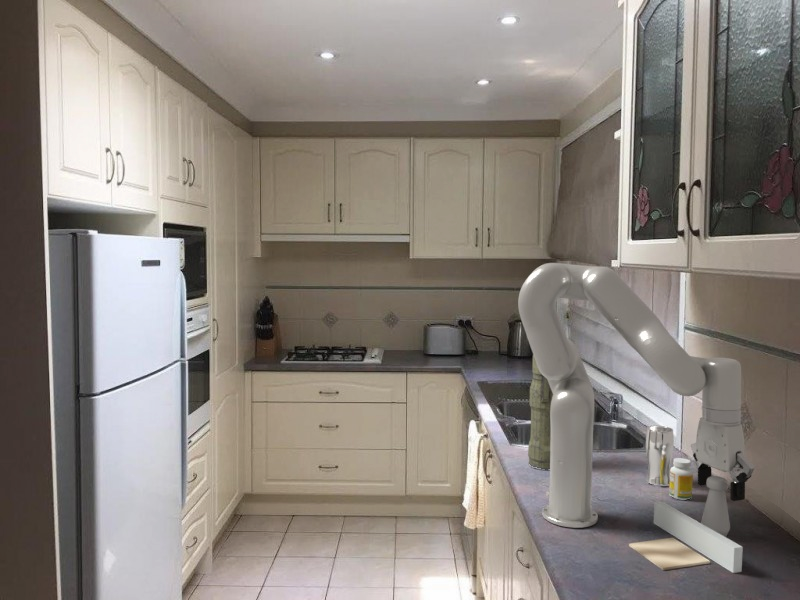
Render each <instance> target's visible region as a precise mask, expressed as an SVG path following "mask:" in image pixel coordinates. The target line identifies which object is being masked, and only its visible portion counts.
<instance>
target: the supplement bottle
mask: <svg viewBox="0 0 800 600" xmlns="http://www.w3.org/2000/svg"><path fill="white" fill-rule="evenodd" d="M691 463H692V461H691V460H690V459H687V458H683V457H682V458H681V457H675V458H673V462H672V464H673V466H670V469H669V477H670V484H669V486H668V489H669V490H668V495H669V497H670V496H672V497H674V498H677V499H690V498H691V499H692V498H693V481H694V472H693V469H691V465H692V464H691ZM672 497H671V498H672ZM677 499H676V500H677ZM691 499H690V500H691Z"/></svg>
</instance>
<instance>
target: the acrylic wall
mask: <svg viewBox="0 0 800 600" xmlns="http://www.w3.org/2000/svg"><path fill="white" fill-rule="evenodd" d="M653 524H654V525H656V526H658V527H659V528H660V529H662V530H664V531H665V532H667V533H669V534H670V535H672V536H673V537H674V538H675V539H678V540H680V542H682V543H683V544H684V543H685V545H688V547H690V548H691V549H693V550H696V552H699V554H700V553H701V555H704V556H705V557H707V558H708V559H709V560H712V561H713V562H715V563H716V564H718V565H720V566H721V567H723V568H725V570H727V571H729V572H731V573H733V574H736V573H741V572H742V571H743V570H742V568H743V550H744V549H743V548H744V547H743V546H742V545H740V544H738V543H736V542H735V541H734V540H731V539H730V538H728V537H727V536H726V537H724V536H722V535H721V534H719V533H717V532H715V531H714V530H712V529H710V528H708V527H706V526H705V525H703V524H701V522H699V521H697V520H696V519H694V518H692V517H691V516H689V515H687V514H685V513H683V512H682V511H680V510H679V509H676V508H674V507H673V506H671V505H670V504H667V503H665V502H664V501H663V500H662V501H654V504H653Z"/></svg>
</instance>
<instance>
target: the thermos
mask: <svg viewBox="0 0 800 600" xmlns="http://www.w3.org/2000/svg"><path fill="white" fill-rule="evenodd" d="M531 369H532V371H531V372H532V378H531V380H532V381H531V383H530V386H529V406H530V438H529V441H528V446H527V448H528V450H527V451H528V465H529V464H530V465H531V466H533V467H537V468H541V469H550V441H551V422H550V408H551V401H552V397H553V393H552V390H551V388H550V385H549V382H548V380H547V378H546V377H544V376H543V375H542V374H541V373H540V371H539V369H538V367H537V364H536V361H535V358H534V355H533V354H532V368H531Z"/></svg>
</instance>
